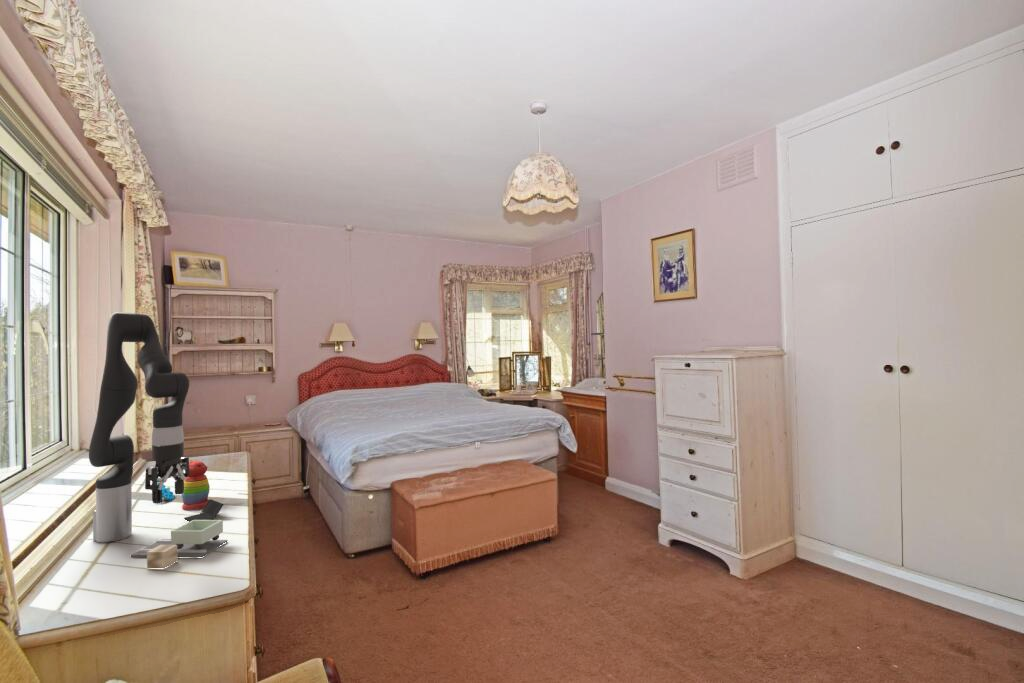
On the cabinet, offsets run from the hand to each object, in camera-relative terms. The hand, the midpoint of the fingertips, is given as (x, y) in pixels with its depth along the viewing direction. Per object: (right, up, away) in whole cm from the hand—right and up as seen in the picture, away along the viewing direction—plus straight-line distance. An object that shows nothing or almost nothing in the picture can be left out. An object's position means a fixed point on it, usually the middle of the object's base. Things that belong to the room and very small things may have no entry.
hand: (168, 498), depth 143 cm
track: (-3, -19, +10) cm, 21 cm away
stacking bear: (-25, -20, +52) cm, 61 cm away
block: (-1, -19, -2) cm, 19 cm away
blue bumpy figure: (-45, -20, +62) cm, 79 cm away
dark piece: (-13, -20, +37) cm, 44 cm away
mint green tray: (+3, -17, +9) cm, 20 cm away
